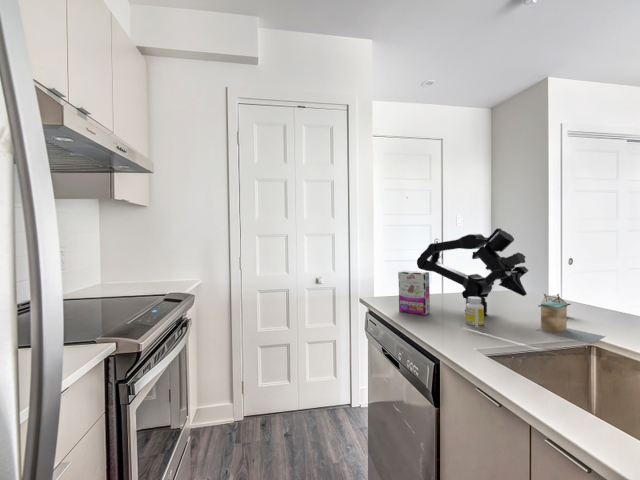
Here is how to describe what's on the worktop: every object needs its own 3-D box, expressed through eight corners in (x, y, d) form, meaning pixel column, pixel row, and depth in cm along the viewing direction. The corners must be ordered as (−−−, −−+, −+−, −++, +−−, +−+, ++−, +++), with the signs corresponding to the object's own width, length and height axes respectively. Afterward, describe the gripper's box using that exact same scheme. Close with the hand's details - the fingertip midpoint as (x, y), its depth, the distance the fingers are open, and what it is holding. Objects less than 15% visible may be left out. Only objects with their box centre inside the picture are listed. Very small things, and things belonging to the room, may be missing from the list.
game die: (554, 324, 115) (563, 301, 117) (569, 322, 107) (579, 298, 109) (530, 311, 117) (539, 289, 119) (543, 309, 109) (553, 285, 111)
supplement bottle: (482, 324, 104) (482, 296, 104) (485, 329, 99) (485, 299, 99) (465, 323, 106) (464, 295, 106) (467, 328, 101) (466, 298, 101)
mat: (535, 331, 96) (535, 329, 96) (550, 326, 101) (550, 324, 101) (592, 345, 84) (592, 343, 84) (605, 338, 89) (605, 336, 89)
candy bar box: (430, 313, 120) (430, 271, 120) (425, 316, 116) (425, 273, 116) (403, 309, 127) (403, 270, 127) (398, 311, 124) (397, 271, 123)
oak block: (541, 329, 96) (540, 304, 96) (550, 326, 100) (549, 301, 99) (557, 333, 93) (557, 307, 92) (566, 329, 96) (566, 304, 95)
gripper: (493, 246, 102) (529, 283, 93) (522, 244, 112) (557, 277, 103) (471, 267, 109) (503, 304, 100) (500, 263, 119) (531, 296, 110)
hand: (525, 295), depth 103 cm, fingers closed
